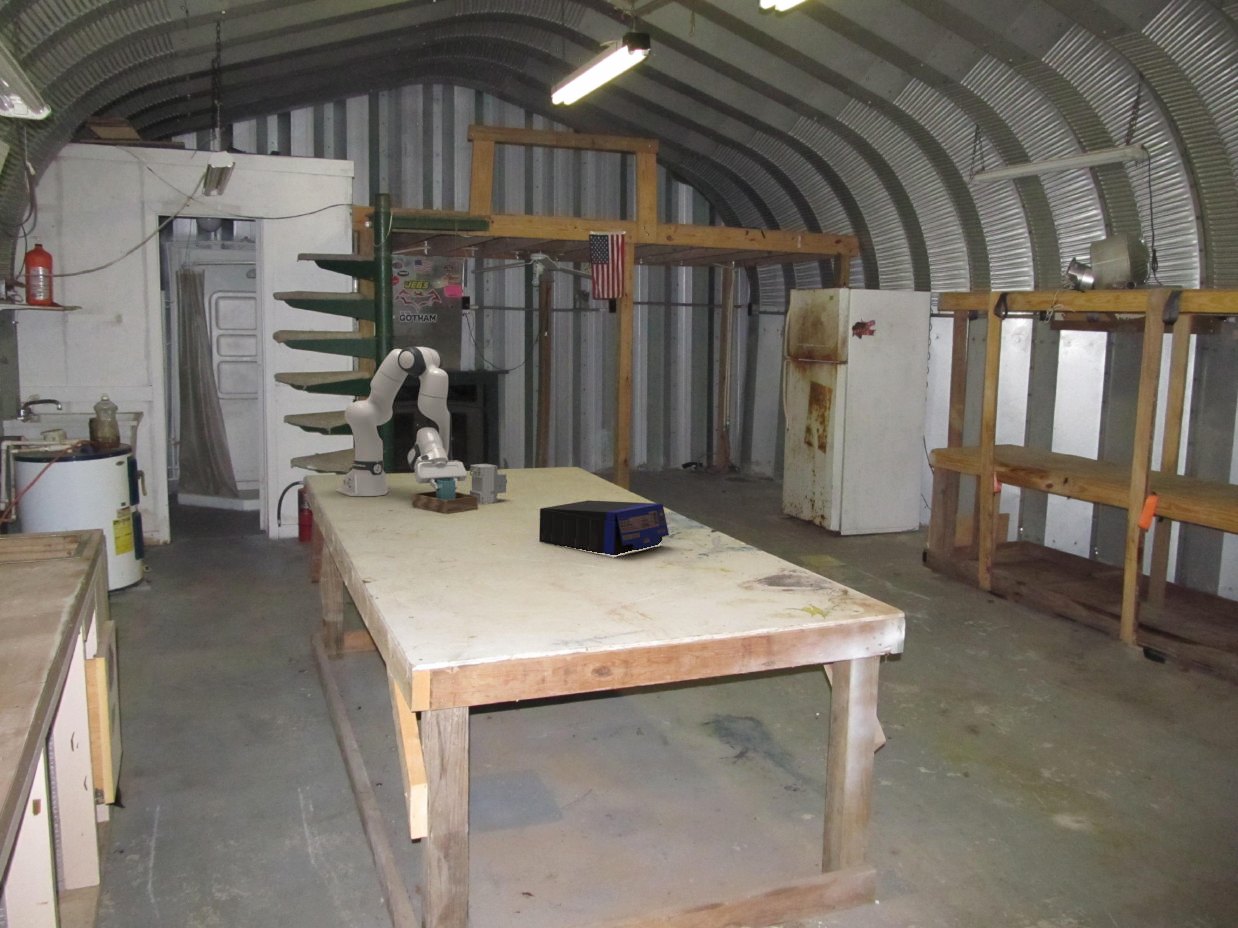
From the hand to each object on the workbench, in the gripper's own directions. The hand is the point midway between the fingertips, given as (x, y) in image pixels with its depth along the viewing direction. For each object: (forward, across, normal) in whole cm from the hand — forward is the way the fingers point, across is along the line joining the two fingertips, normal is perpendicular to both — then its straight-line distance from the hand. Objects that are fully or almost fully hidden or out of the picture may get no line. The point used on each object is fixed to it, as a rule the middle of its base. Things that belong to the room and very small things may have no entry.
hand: (446, 489), depth 361 cm
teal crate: (+3, 0, -4) cm, 4 cm away
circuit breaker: (0, -22, -11) cm, 24 cm away
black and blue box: (+63, -21, +52) cm, 84 cm away
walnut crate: (+5, 0, -6) cm, 7 cm away
